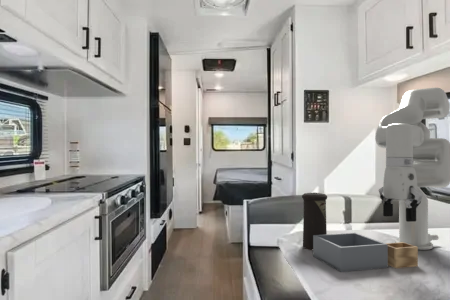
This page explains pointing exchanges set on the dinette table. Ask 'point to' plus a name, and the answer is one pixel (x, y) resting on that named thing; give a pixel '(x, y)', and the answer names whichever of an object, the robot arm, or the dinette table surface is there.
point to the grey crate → (350, 251)
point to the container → (313, 217)
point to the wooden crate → (402, 255)
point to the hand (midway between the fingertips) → (399, 218)
